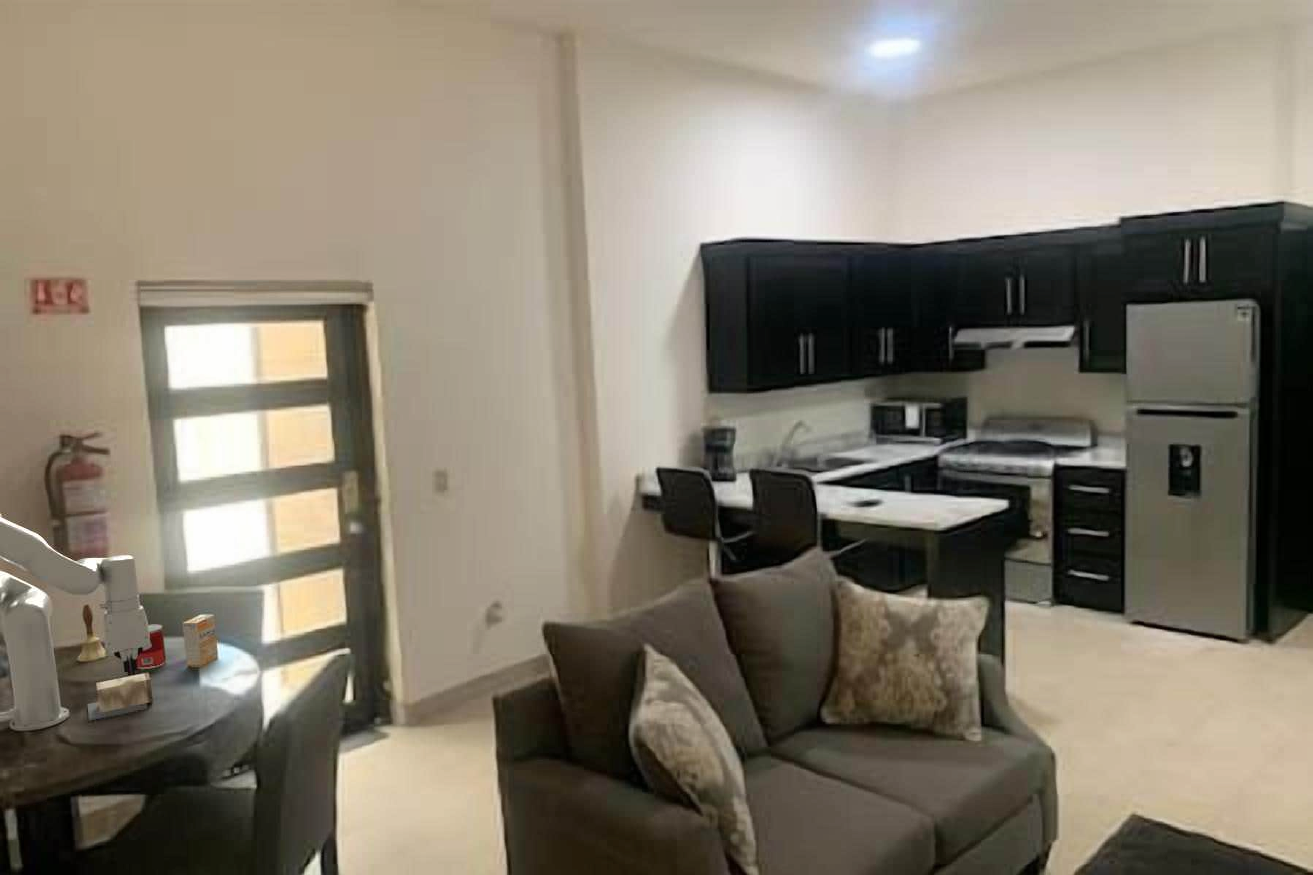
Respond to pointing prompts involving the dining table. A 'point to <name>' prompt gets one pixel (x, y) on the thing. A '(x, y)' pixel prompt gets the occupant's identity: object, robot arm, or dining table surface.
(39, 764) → the dining table surface
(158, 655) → the canned food
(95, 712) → the mat
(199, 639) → the supplement box
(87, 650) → the hand bell
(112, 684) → the maple block
